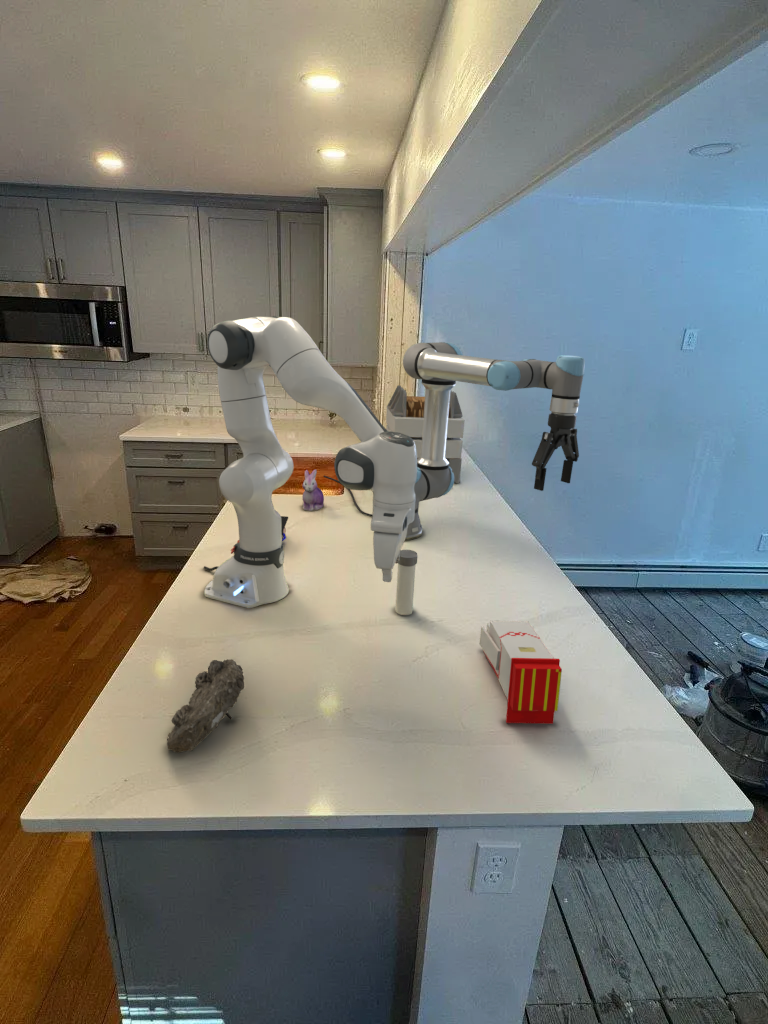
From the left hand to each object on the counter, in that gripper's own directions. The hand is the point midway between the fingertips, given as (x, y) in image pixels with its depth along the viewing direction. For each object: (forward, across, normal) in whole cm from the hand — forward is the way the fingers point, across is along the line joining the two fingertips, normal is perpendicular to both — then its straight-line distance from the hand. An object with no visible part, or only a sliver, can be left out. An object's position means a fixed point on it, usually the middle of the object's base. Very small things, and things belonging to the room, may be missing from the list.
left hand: (391, 571), depth 123 cm
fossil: (+21, +28, -29) cm, 46 cm away
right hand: (-6, -55, +38) cm, 67 cm away
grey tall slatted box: (+21, -154, -13) cm, 156 cm away
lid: (+5, -21, +1) cm, 22 cm away
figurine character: (+21, -54, -47) cm, 74 cm away
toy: (+22, +3, +28) cm, 35 cm away
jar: (+21, -21, 0) cm, 30 cm away
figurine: (+21, -91, -47) cm, 105 cm away
